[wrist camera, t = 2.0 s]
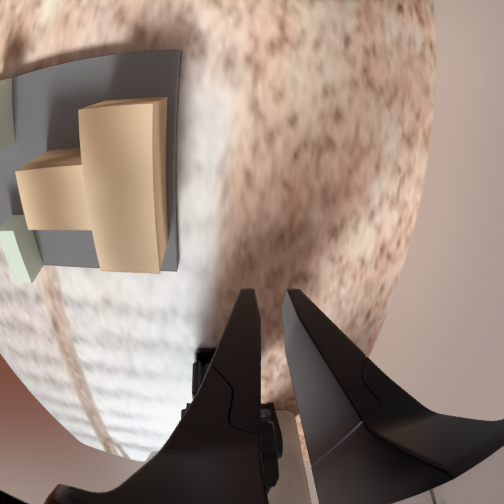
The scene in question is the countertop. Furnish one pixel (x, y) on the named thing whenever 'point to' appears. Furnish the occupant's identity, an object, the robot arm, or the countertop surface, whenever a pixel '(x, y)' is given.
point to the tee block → (107, 184)
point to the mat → (67, 135)
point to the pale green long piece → (15, 228)
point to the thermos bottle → (290, 466)
